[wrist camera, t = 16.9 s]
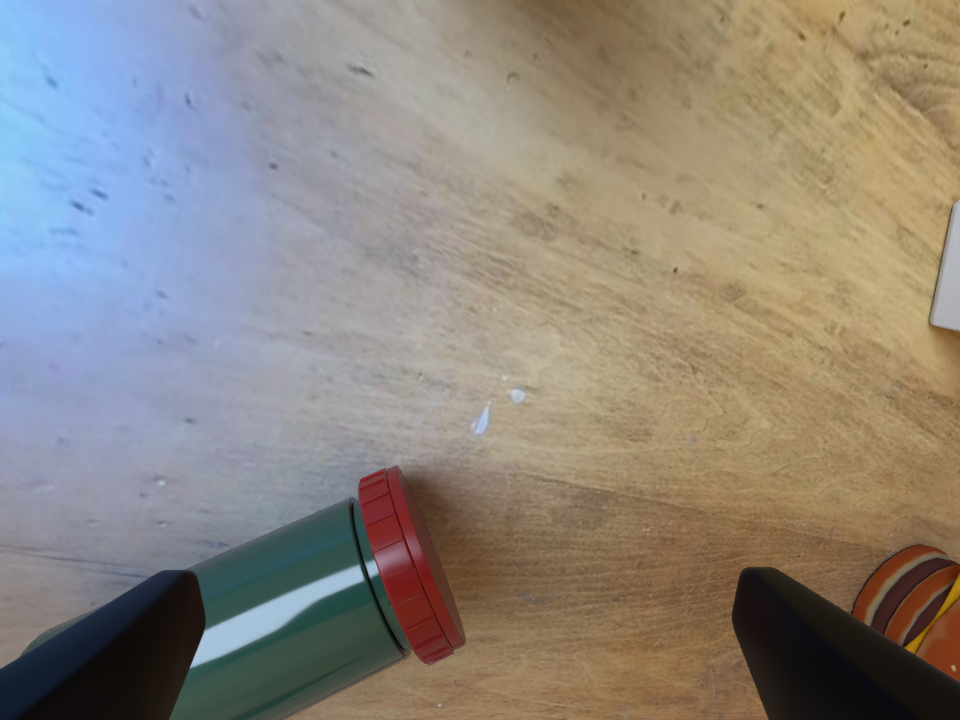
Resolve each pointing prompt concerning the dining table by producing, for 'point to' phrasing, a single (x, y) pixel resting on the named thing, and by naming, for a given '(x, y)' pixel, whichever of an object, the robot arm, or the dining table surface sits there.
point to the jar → (287, 621)
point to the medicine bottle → (949, 279)
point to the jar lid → (410, 566)
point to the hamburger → (917, 605)
